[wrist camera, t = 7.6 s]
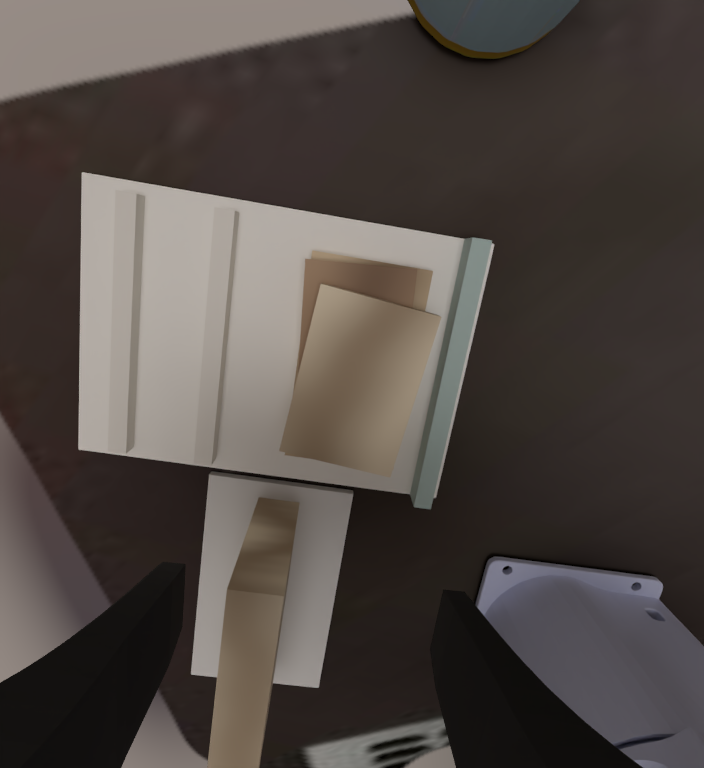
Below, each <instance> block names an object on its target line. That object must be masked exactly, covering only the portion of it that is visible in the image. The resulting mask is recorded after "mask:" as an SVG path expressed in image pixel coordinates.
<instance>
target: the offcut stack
mask: <svg viewBox="0 0 704 768" xmlns="http://www.w3.org/2000/svg"><path fill="white" fill-rule="evenodd" d="M432 275H433V271H431V270H425V269H420V268H414V267H408V266H402V265H396V264H390V263H384V262H378V261H372V260H366V259H360V258H354V257H349V256H343V255H337V254H331V253H325V252H319V251H313V250H312V256H311V259H305V271H304V287H303V303H302V319H301V335H300V345H299V352H298V360H297V367H296V375H295V382H294V390H293V397H292V401H291V405H290V409H289V413H288V417H287V421H286V425H285V429H284V433H283V437H282V441H281V445H280V449H279V451H281V452H285V455H287V456H295V457H302V458H309V459H314V460H319V461H323V462H327V463H331V464H335V465H339V466H344V467H348V468H352V469H356V470H360V471H365V472H369V473H373V474H377V475H381V476H385V477H391V474H392V471H393V469H394V464H395V461H396V458H397V455H398V452H399V449H400V446H401V442H402V439H403V436H404V433H405V430H406V427H407V424H408V420H409V417H410V414H411V411H412V408H413V405H414V402H415V399H416V395H417V392H418V389H419V386H420V383H421V380H422V377H423V373H424V370H425V367H426V364H427V361H428V358H429V355H430V352H431V348H432V345H433V342H434V339H435V336H436V333H437V330H438V327H439V323H440V320H441V316H439V315H436V314H433V313H429V312H425V309H426V305H427V300H428V295H429V290H430V285H431V280H432Z"/></svg>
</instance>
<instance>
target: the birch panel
mask: <svg viewBox="0 0 704 768" xmlns="http://www.w3.org/2000/svg"><path fill="white" fill-rule="evenodd" d="M299 504H300V503H299V502H291V501H284V500H276V499H269V498H261V497H259V498H258V501H257V504H256V507H255V510H254V513H253V516H252V518H251V521H250V524H249V527H248V530H247V533H246V536H245V539H244V541H243V544H242V547H241V550H240V553H239V556H238V559H237V562H236V565H235V567H234V570H233V573H232V576H231V579H230V582H229V585H228V588H227V593H226V602H225V611H224V620H223V629H222V638H221V647H220V657H219V666H218V675H217V684H216V693H215V702H214V711H213V721H212V730H211V739H210V748H209V757H208V766H207V768H259V766H260V760H261V753H262V747H263V741H264V735H265V728H266V722H267V716H268V710H269V703H270V697H271V691H272V685H273V678H274V672H275V666H276V659H277V653H278V646H279V639H280V632H281V626H282V619H283V612H284V605H285V598H286V592H287V585H288V578H289V571H290V565H291V558H292V551H293V544H294V538H295V531H296V524H297V517H298V511H299Z"/></svg>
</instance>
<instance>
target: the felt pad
mask: <svg viewBox="0 0 704 768" xmlns="http://www.w3.org/2000/svg"><path fill="white" fill-rule="evenodd" d="M259 497H261V498H269V499H276V500H284V501H291V502H299V503H300V504H299V511H298V517H297V524H296V531H295V538H294V544H293V551H292V558H291V565H290V571H289V578H288V585H287V592H286V598H285V605H284V612H283V619H282V626H281V632H280V639H279V646H278V653H277V659H276V666H275V672H274V678H273V683H277V684H286V685H295V686H305V687H314V688H319V682H320V677H321V671H322V666H323V660H324V654H325V649H326V643H327V638H328V632H329V627H330V621H331V616H332V610H333V604H334V599H335V593H336V588H337V582H338V577H339V571H340V565H341V560H342V554H343V549H344V543H345V538H346V532H347V527H348V521H349V515H350V510H351V504H352V499H353V490H347V489H340V488H333V487H325V486H318V485H310V484H303V483H296V482H288V481H281V480H274V479H266V478H259V477H251V476H244V475H237V474H229V473H222V472H214V471H211V473H210V474H209V482H208V493H207V504H206V515H205V526H204V537H203V548H202V559H201V570H200V581H199V592H198V603H197V614H196V625H195V636H194V647H193V658H192V669H191V674H192V675H201V676H211V677H217V675H218V666H219V657H220V647H221V638H222V629H223V620H224V611H225V602H226V593H227V588H228V585H229V582H230V579H231V576H232V573H233V570H234V567H235V565H236V562H237V559H238V556H239V553H240V550H241V547H242V544H243V541H244V539H245V536H246V533H247V530H248V527H249V524H250V521H251V518H252V516H253V513H254V510H255V507H256V504H257V501H258V498H259Z"/></svg>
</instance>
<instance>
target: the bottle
mask: <svg viewBox="0 0 704 768" xmlns="http://www.w3.org/2000/svg"><path fill="white" fill-rule="evenodd" d="M408 1H409V4H410V5H411V7H412V9H413V11H414V13H415V15H416V17H417V19H418V20H419V22H420V23H421V25H422V26H423V27H424V28H425V29H426V30H427V31H428V32H429V33H430V34H431V35H432V36H433V37H434V38H435V39H436V40H437V41H438V42H439V43H440V44H442V45H443V46H445V47H446V48H449V49H451V50H453V51H455V52H458V53H460V54H462V55H464V56H467V57H472V58H486V59H497V58H502V57H506V56H509V55H512V54H515V53H519V52H522V51H524V50H526V49H528V48H529V47H531V46H532V45H533V44H535V43H536V42H538V41H539V40H540V39H542V38H543V37H545V36H546V35H547V34H548V33H549V32H550V31H551V30H552V29H553V28H554V27H556V26H557V25H558V24H559V23H560V22H561V21H562V20H563V18H564V17H565V16H566V15H567V14H568V13H569V12H570V11H571V10H572V9H573V8H574V6H575V5H576V4H577V3H578V2H579V1H580V0H408Z"/></svg>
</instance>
